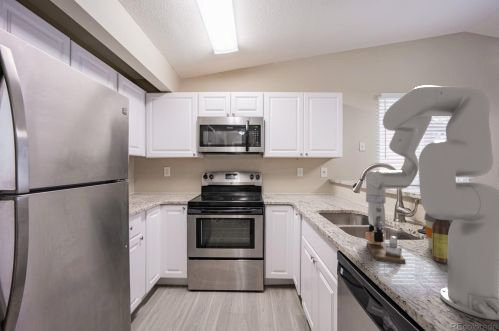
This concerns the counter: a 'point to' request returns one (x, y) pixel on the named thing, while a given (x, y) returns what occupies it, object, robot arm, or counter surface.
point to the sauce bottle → (440, 240)
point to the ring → (372, 237)
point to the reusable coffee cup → (430, 228)
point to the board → (384, 254)
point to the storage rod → (393, 248)
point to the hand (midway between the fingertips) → (375, 238)
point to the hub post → (374, 242)
